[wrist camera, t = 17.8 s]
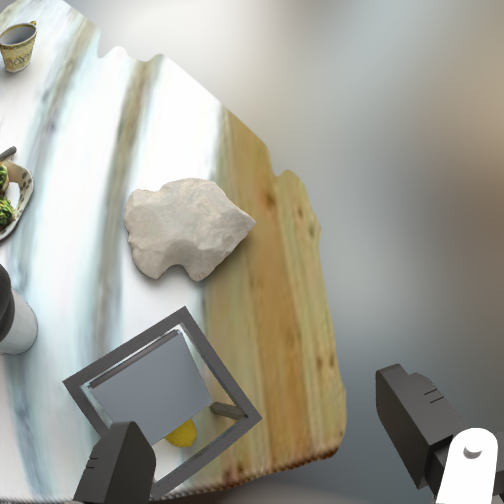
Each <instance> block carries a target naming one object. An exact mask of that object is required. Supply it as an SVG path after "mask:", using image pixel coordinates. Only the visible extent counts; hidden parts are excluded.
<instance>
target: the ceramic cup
mask: <svg viewBox="0 0 504 504" xmlns="http://www.w3.org/2000/svg"><path fill="white" fill-rule="evenodd" d="M33 24H34V25H33ZM36 33H37V27H36V22H35V21H32V22H30V23H19V24H15V25H12V26H10V27H8V28H6V29H5V30H3V31H2V32H1V33H0V51H1V54H2V56H3V60H4V64H5V68H6V71H8V72H12V73H15V72H18V71H21V70H23V69H24V68H25V67H26V66H27V65H28V64H29V62H30V58H31V53H32V49H33V45H34V42H35V38H36Z"/></svg>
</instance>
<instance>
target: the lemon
mask: <svg viewBox="0 0 504 504" xmlns="http://www.w3.org/2000/svg"><path fill="white" fill-rule="evenodd" d="M164 438H165V439H166V440H167V441H168V442H169V443H171V444H172V445H174V446H177V447H190V446H192V443H193V442H194V440H195V438H196V428H195V425H194V423H193V421H192V420H191V418H190V419H189V420H187V421H186V422H184V423H183V424H182V425H180V426H179V427H178V428H176V429H175V430H173V431H172V432H171V433H169V434H168V435H166V436H165V437H164Z"/></svg>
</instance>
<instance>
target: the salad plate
mask: <svg viewBox="0 0 504 504" xmlns="http://www.w3.org/2000/svg"><path fill="white" fill-rule="evenodd" d="M15 153H16V147H14V146H13V147H11V148H9V149H8V150H6V151H5V152H3V153H2V154H0V242H1V241H3V240H4V239H6V238H7V237H8V236H9V235H10V234H11V233H12V232H13V230H14V229H15V228H16V226H17V225H18V222H19V219H20V217H21V215H22V213H23V211H24V209H25V207H26V205H27V203H28V201H29V199H30V196H31V194H32V192H33V185H34V181H33V177H32V174H31V172H30V171H29V170H28V169H26V168H24V167H22V166H20V165H18V164H15V163H14V162H12V161H11V158H12V156H13V155H14V154H15ZM9 182H15V183H18V185H19V188H20V198H19V202H18V205H17V207H16V209H15V211H14V209H13V207H12V206H11V205H10V203H11V202H10V200H7V198H6V197H4V196H5V190H6V189H7V188H8V185H9Z"/></svg>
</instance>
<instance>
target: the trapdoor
mask: <svg viewBox="0 0 504 504" xmlns="http://www.w3.org/2000/svg"><path fill="white" fill-rule="evenodd" d="M89 384H90V385H89V386H87V387H88V389H89V391H90V392H91V394H92V395H93V396H94V398H95V399H96V400H97V402H98V403H99V404H100V406H101V407H102V408H103V410H104V411H105V412H106V414H107V415H108V416H109V417H110V419H111V420H112V421H113V422H126V421H134V422H136V423H137V424H138V426H139V428H140V429H141V431H142V433H143V434H144V436H145V438H146V439H147V441H148V442H149V444H150V446H152V445H153V444H155V443H156V442H158V441H159V440H161V439H162V438H163V437H165V436H166V435H168V434H169V433H171V432H172V431H173V430H175V429H176V428H178V427H179V426H180V425H182V424H183V423H184V422H186V421H187V420H189V419H190V418H191V417H193V416H194V415H195V414H197V413H198V412H199V411H201V410H202V409H203V408H205V407H206V406H207V405H209V404H210V403H211V402H213V401H212V399H211V397H210V395H209V393H208V391H207V388H206V386H205V384H204V382H203V380H202V378H201V375H200V373H199V371H198V369H197V367H196V364H195V362H194V360H193V358H192V355H191V353H190V351H189V348H188V346H187V344H186V341H185V339H184V337H183V334H182V332H181V331H179V330H178V329H177V330H175V329H174V330H173V331H171V332H170V333H168V334H166V335H165V336H163V337H162V338H160V339H159V340H157V341H156V342H154V343H152V344H151V345H149V346H148V347H146V348H145V349H143V350H141V351H140V352H138V353H137V354H135V355H134V356H132V357H130V358H129V359H127V360H126V361H124V362H122V363H121V364H119V365H118V366H116V367H114V368H113V369H111V370H110V371H108V372H106V373H105V374H103V375H102V376H100V377H98V378H97V379H95V380H94V381H92V382H90V383H89Z"/></svg>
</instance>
